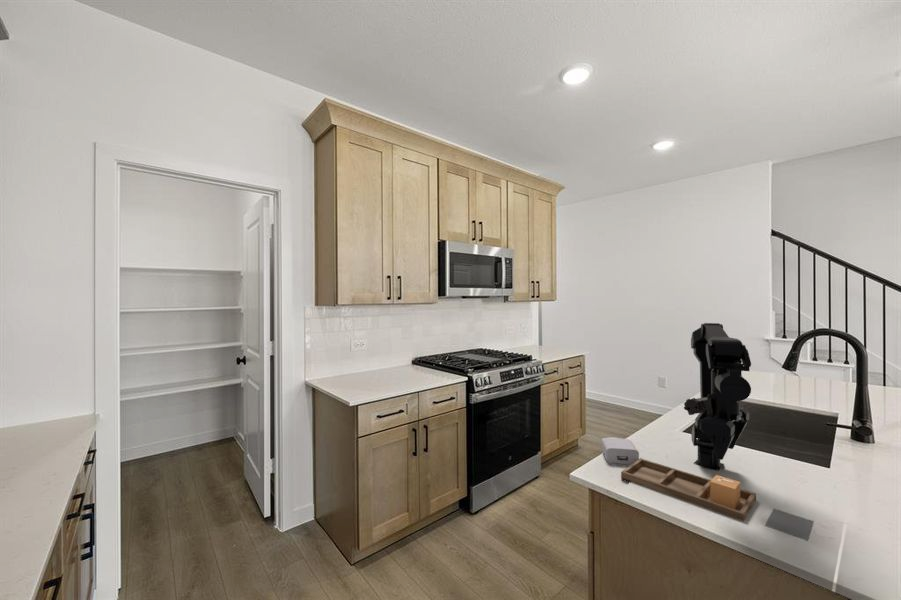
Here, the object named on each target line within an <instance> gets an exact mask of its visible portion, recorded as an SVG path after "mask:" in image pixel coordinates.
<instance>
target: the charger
mask: <svg viewBox="0 0 901 600" xmlns="http://www.w3.org/2000/svg"><path fill="white" fill-rule="evenodd" d="M601 450H602V453H603V455H604V457H605V459H606V462H607V463H610V464H611V463H612V464H622V463H624V464H625V465H632V464H633V463H635V462H636V461H637V460H639V459H640V452H639V451H638V449H637V447H636V446H635V444H634V443H633V441H632V440H631V439H629V438H621V437H620V438H619V437H614V436H613V437H603V438H602V439H601ZM604 453H605V454H604ZM624 464H623V465H624Z"/></svg>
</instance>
